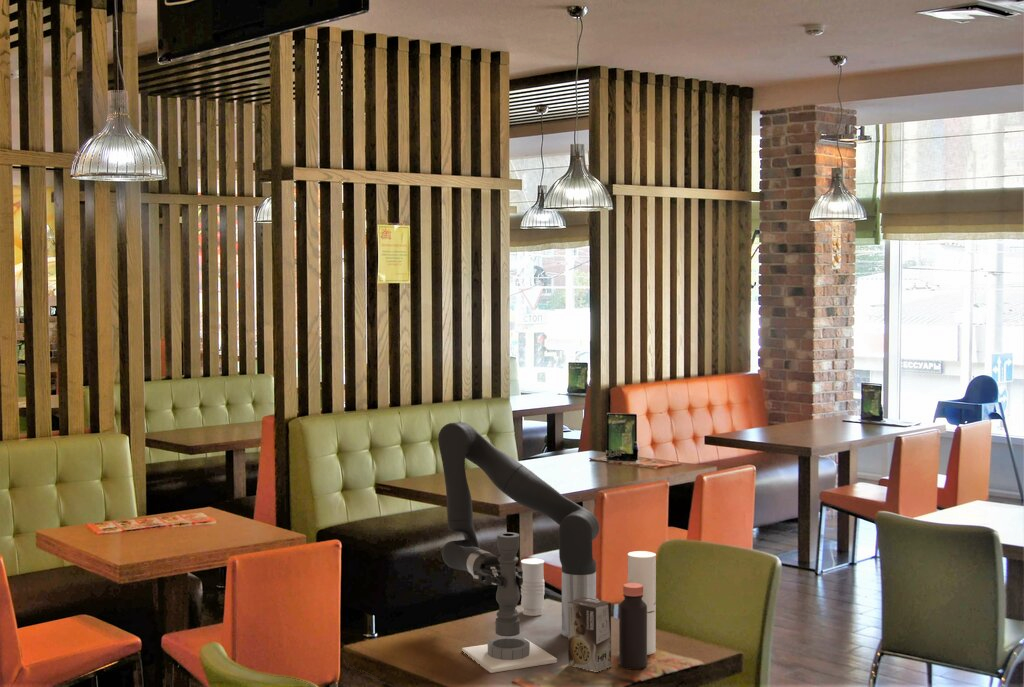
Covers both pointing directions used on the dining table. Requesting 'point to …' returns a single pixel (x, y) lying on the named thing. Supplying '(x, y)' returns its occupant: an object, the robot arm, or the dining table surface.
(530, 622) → the dining table surface
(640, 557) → the cylindrical container
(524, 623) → the dining table surface
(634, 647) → the bottle
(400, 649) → the dining table surface
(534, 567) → the candle
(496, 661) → the collar plate
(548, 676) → the dining table surface
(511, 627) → the candle holder
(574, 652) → the coffee box
